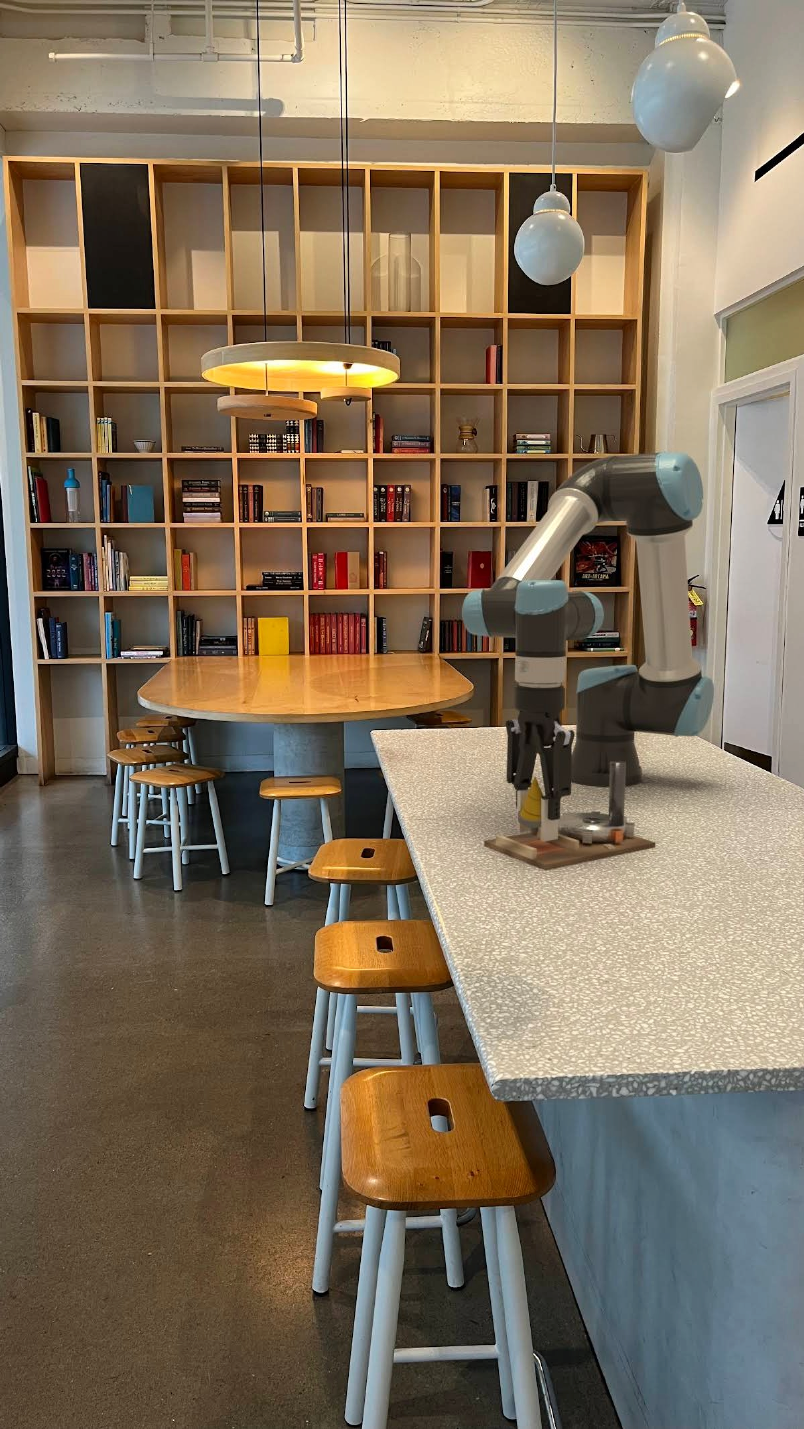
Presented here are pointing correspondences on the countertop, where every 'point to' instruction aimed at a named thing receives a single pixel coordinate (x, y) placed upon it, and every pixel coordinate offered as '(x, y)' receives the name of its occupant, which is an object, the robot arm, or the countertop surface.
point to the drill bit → (532, 808)
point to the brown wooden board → (562, 849)
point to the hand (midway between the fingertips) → (536, 835)
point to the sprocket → (601, 815)
